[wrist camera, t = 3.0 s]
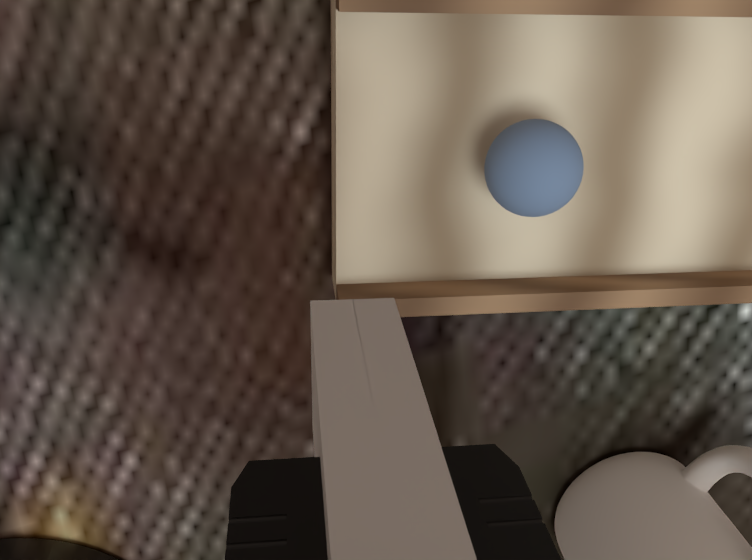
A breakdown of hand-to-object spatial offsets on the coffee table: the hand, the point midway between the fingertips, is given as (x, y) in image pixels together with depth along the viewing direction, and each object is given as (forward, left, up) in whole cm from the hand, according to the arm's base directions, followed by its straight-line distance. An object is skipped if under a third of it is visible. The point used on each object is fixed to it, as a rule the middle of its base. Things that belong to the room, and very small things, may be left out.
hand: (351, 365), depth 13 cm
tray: (+16, 0, -17) cm, 23 cm away
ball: (+8, 0, -13) cm, 15 cm away
